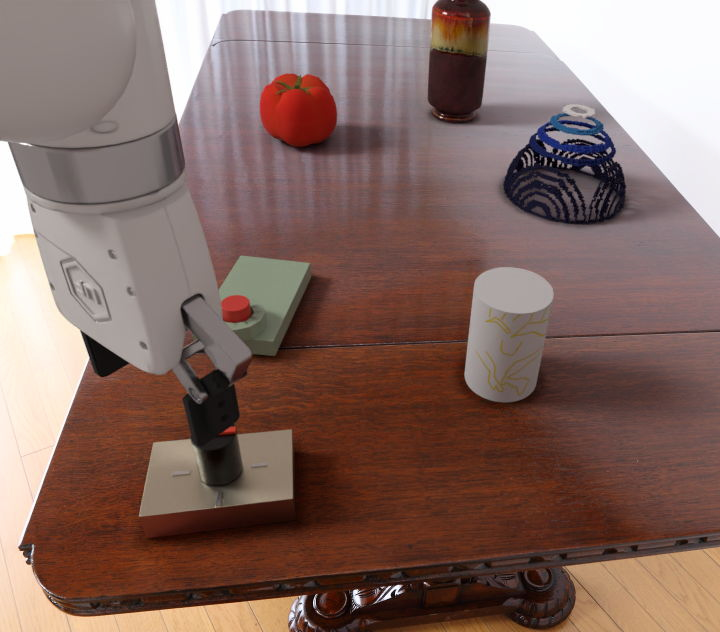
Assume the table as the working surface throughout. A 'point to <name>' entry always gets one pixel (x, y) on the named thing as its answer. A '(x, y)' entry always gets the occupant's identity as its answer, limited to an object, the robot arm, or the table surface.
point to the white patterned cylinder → (507, 333)
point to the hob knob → (219, 458)
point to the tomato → (298, 109)
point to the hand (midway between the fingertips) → (166, 396)
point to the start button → (236, 309)
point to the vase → (457, 58)
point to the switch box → (266, 299)
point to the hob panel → (219, 487)
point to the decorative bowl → (577, 165)
